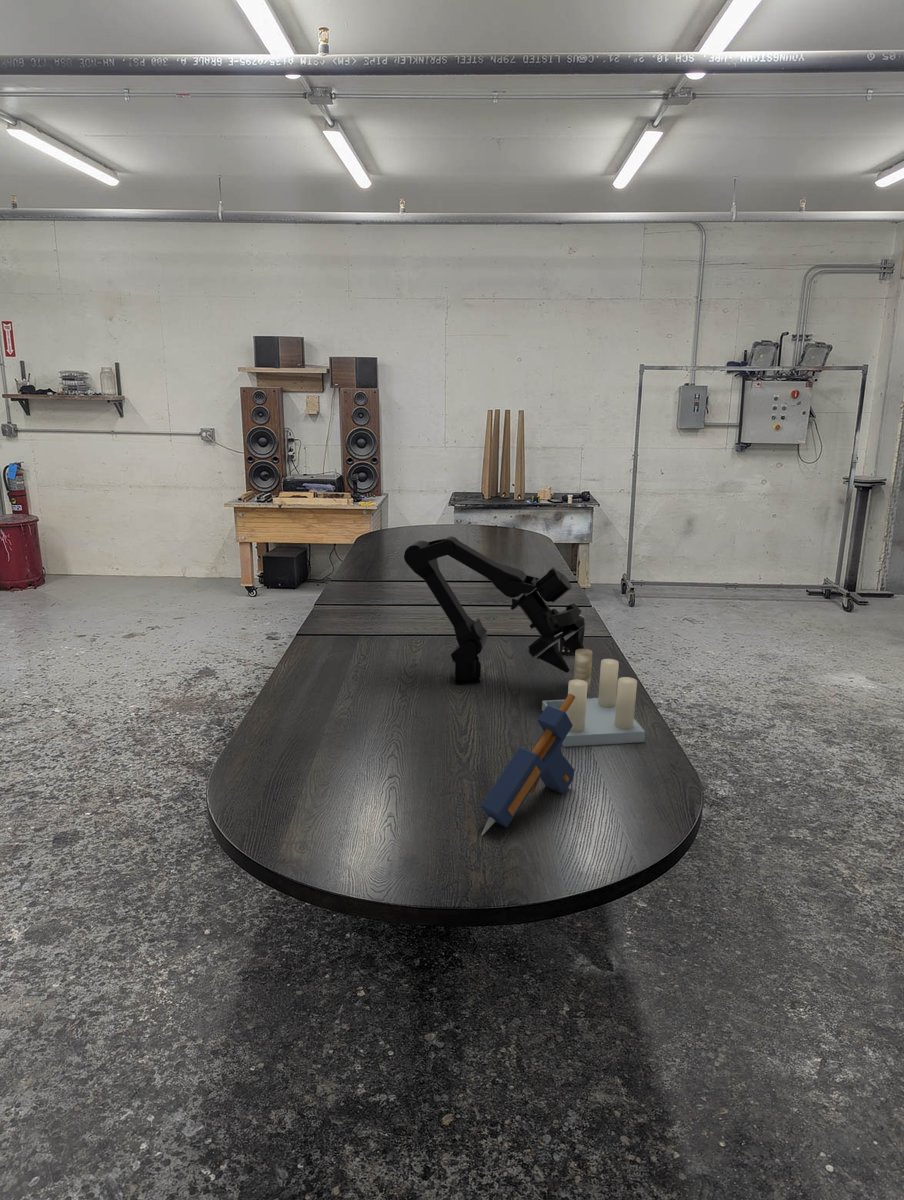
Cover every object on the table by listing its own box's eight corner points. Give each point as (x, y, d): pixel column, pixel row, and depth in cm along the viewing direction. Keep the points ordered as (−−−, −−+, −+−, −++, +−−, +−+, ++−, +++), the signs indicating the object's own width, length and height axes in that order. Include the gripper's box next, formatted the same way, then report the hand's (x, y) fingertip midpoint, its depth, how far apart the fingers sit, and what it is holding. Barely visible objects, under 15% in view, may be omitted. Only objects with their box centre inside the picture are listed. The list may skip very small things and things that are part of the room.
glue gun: (499, 863, 135) (468, 825, 125) (571, 726, 149) (548, 683, 139) (527, 875, 131) (497, 838, 122) (598, 734, 145) (576, 690, 135)
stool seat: (563, 746, 157) (567, 690, 153) (541, 710, 174) (544, 658, 170) (644, 741, 159) (649, 686, 155) (614, 706, 176) (619, 655, 172)
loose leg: (575, 706, 176) (579, 655, 173) (569, 699, 180) (572, 649, 176) (591, 704, 177) (595, 654, 173) (584, 697, 181) (588, 648, 177)
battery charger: (558, 655, 208) (560, 617, 205) (558, 650, 212) (560, 613, 209) (583, 657, 208) (586, 618, 204) (582, 652, 211) (585, 614, 208)
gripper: (541, 604, 168) (582, 660, 165) (579, 587, 182) (617, 638, 179) (511, 630, 175) (549, 684, 172) (549, 611, 189) (586, 661, 186)
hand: (577, 666), depth 177 cm, fingers open, 9 cm apart
